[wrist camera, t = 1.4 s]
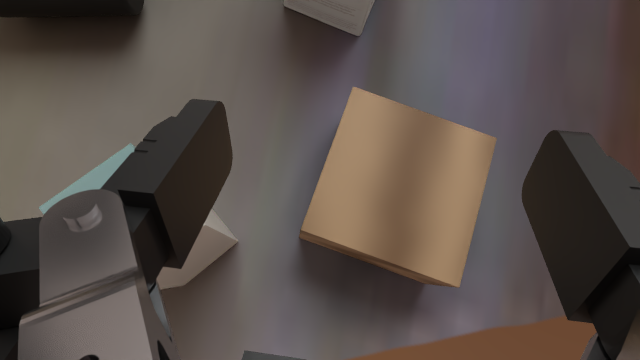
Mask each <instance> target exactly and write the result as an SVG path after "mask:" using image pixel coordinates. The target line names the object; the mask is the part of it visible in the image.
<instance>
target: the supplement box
mask: <svg viewBox="0 0 640 360" xmlns="http://www.w3.org/2000/svg"><path fill="white" fill-rule="evenodd" d="M374 2H375V0H283V5H284V6H285V7H288V8H290V9H292V10H295V11H297V12H300V13H302V14H304V15H307V16H309V17H311V18H314V19H316V20H319V21H321V22H324V23H326V24H328V25H331V26H334V27H336V28H338V29H341V30H343V31H346V32H348V33H351V34H353V35H356V36H360V35H361V33H362V31H363V28H364V25H365V23H366V20H367V18H368V16H369V13H370V11H371V9H372V6H373V4H374Z"/></svg>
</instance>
